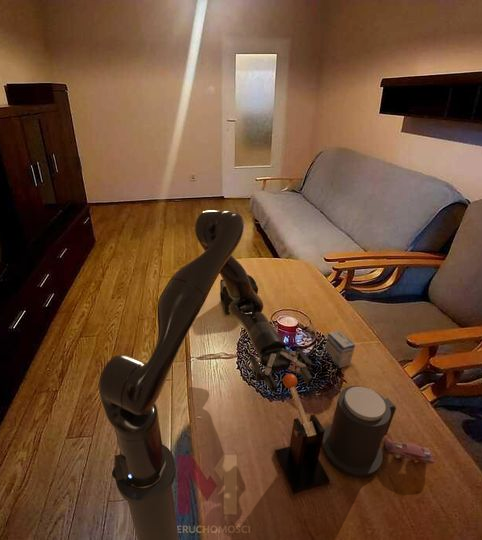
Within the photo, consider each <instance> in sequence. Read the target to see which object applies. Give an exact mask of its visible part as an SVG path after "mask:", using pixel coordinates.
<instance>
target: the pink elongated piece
mask: <svg viewBox="0 0 482 540" xmlns="http://www.w3.org/2000/svg"><path fill="white" fill-rule="evenodd" d="M384 446H385V449H386V450H387V451H388V452H389V453H388V454H390V455H393V456H394V458H396V459H407V456H409V460H410V461H412V462H413V463H426V464H434V463H435V458H434V457H435V456H434V453H433V451H431V450H430V449H429V448H428V447H427V446H419V445H418V444H415V443H413V442H400V441H393V440H391V438H389V437H387V438H386V439H385V441H384Z"/></svg>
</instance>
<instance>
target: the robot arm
mask: <svg viewBox="0 0 482 540" xmlns="http://www.w3.org/2000/svg"><path fill="white" fill-rule="evenodd" d="M244 228H245V222H244V219H243V216H242V215H240V214H239V213H238V212H235V211H229V210H205V211H202V212H201V213H200V214H199V215H198V216H197V217H196V220H195V225H194V230H195V235H196V238H197V240H198V242H199V244H200V246H201V247H202V249H203V250H204V252H202V253H201V254H200V255H198V256H197V257H196V258H194V259H193V260H191V261H189V262H188V263H186V264H185V265H184V266H182V267H181V268H180V269H178V270H177V271H176V272H174V274H173V275H171V277H170V279H169V280H168V282H167V284H166V286H165V287H164V288H163V291H162V292H161V294H160V296H159V297H158V302H157V311H156V313H157V326H158V330H157V331H158V332H157V341H156V344H155V347H154V350H153V351H152V353H151V356H150V358H149V359H148V361H147V362H145V361H143V360H140V359H137V358H136V357H134V356H133V357H132V356H130V355H128V354H118V355H115V356H113V357H112V358H111V359H109V361H107V362H106V364H105V365H104V367H103V368H102V371H101V373H100V377H99V382H98V390H99V396H100V400H101V404H102V406H103V409H104V413H105V415H106V418H107V420H108V422H109V424H110V425H111V426H112V427H113V429H114V432H115V437H116V440H117V444H118V449H119V454H117V455H114V467H113V469H112V471H111V476H112V477H113V479H116V480H117V481H120V480H122V479H125V483H126V486H127V487H128V486H132V487H134V488H137V489H148V488H151V487H153V486H154V485H156V484H157V483H158V482H159V481H160V480H161V479H162V477H163V475H164V473H165V468H166V461H165V459H164V453H163V446H162V444H163V440H162V433H161V425H160V419H159V411H158V407H157V405H156V402H157V400H158V399H159V397H160V395H161V394H162V391H163V388H164V386H165V384H166V382H167V378H168V377H169V375H170V372H171V370H172V367H173V365H174V363H175V360H176V358H177V356H178V354H179V351H180V349H181V347H182V345H183V343H184V341H185V339H186V337H187V335H188V334H189V331H190V329H191V328H192V326H193V324H194V323H195V321H196V319H197V317H198V316H199V314H200V311H201V310H202V308H203V306H204V304H205V302H206V300H207V298H208V296H209V294H210V291H211V290H212V288H213V286H214V284H215V282H216V280H217V278H218V277H219V276H220V277H221V279H223V281H224V283H225V286H226V288H227V291H228V293H229V295H230V297H231V298H232V299H233V300H234V301H232V302H231V304H230V306H229V311H230V314H229V315H230V316H231V317H232V319H234V321H235V322H236V323H238V324H239V325H240V326H242V327H243V328H244V330H245V331H246V334H247V335H248V337H249V341H250V343H251V345H252V347H253V349H254V350H255V352H256V354H257V356H258V358H256V357H255V356H252V357H250V368H251V371H252V373H253V376H254V378H255V381H256V382H258V383H259V382H262V381H263V382H265V383H266V385H267V388H268V390H269V391H270V392H273V394H276V393H278V388H279V387H278V385H277V382H276V380H275V379H274V377H273V376H272V375H273V372H275V373H279V372H280V371H287V370H289V371H291V372H296V373H298V374H299V375H300V377H301V378H302V380H303V381H304V383H305V384H306V386H311V385H312V381H313V375H312V374H311V373H310V371H311V366H312V361H311V360H310V359H309V357H308V356H307V355H306V354H305V352H304V351H303V350H302V348H301V347H297V348H296V349H295V351H290V350H289V349H287V346H286V344H285V342H284V341H283V339H282V338H281V336H280V335H279V333H278V331H277V330H276V329H275V327H274V326H273V325H272V324H271V323H270V321H269V320H268V318H267V316H266V315H265V314H264V313H263V311H264V301H263V299H262V298H261V297H260V296H259V295H258V294H256V293H255V291H254V290H253V289H252V287H251V284H250V281H249V278H248V275H249V274H248V273H247V271H246V269H245V268H244V267H243V265H242V264H241V263H240V262H239V261H238V260H237V259H236V258H235V257H234V255H233V254H234V252H235V251H236V249H237V247H238V246H239V244H240V241H241V240H242V237H243V234H244V230H245V229H244ZM291 363H292V365H291ZM261 365H262V366H264V367H265V370H264V371H262V370H261V368H260V366H261ZM116 480H115V481H116Z"/></svg>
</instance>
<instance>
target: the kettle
mask: <svg viewBox="0 0 482 540" xmlns="http://www.w3.org/2000/svg"><path fill="white" fill-rule="evenodd" d="M396 410H397V407H396V405H395V404H394V403H393V402H392V401H391V399H390V398H389V397H387V398H384V397H383V396H382V395H381V394H380V393H378V392H377V391H376V390H373V389H371V388H369V387H366V386H361V385H351V386H347V387H344V388H343V389H342V390H341V391H340V392H339V394H338V398H337V401H336V405H335V410H334V413H333V418H332V423H330V424H329V425H328V426H326V428H325V429H324V431H325V432H324V436H323V441H322V445H321V450H322V453H323V455H324V457H325V458H326V460H327V461H328V462H329V464H330V465H331V466H332V467H333V468H334V469H335V470H337V471H338V472H340V473H341V474H343V475H346V476H348V477H350V478H353V479H354V478H355V479H367V478H371V477H373V476H374V475H376V474H377V473H378V472H379V471H380V468H381V466H382V463H383V459H384V454H383V449H382V446H381V445H382V442H383V440H384V438H385V436H387V434H388V432H389V429H390V426H391V423H392V421H393V419H394V415H395V412H396Z"/></svg>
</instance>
